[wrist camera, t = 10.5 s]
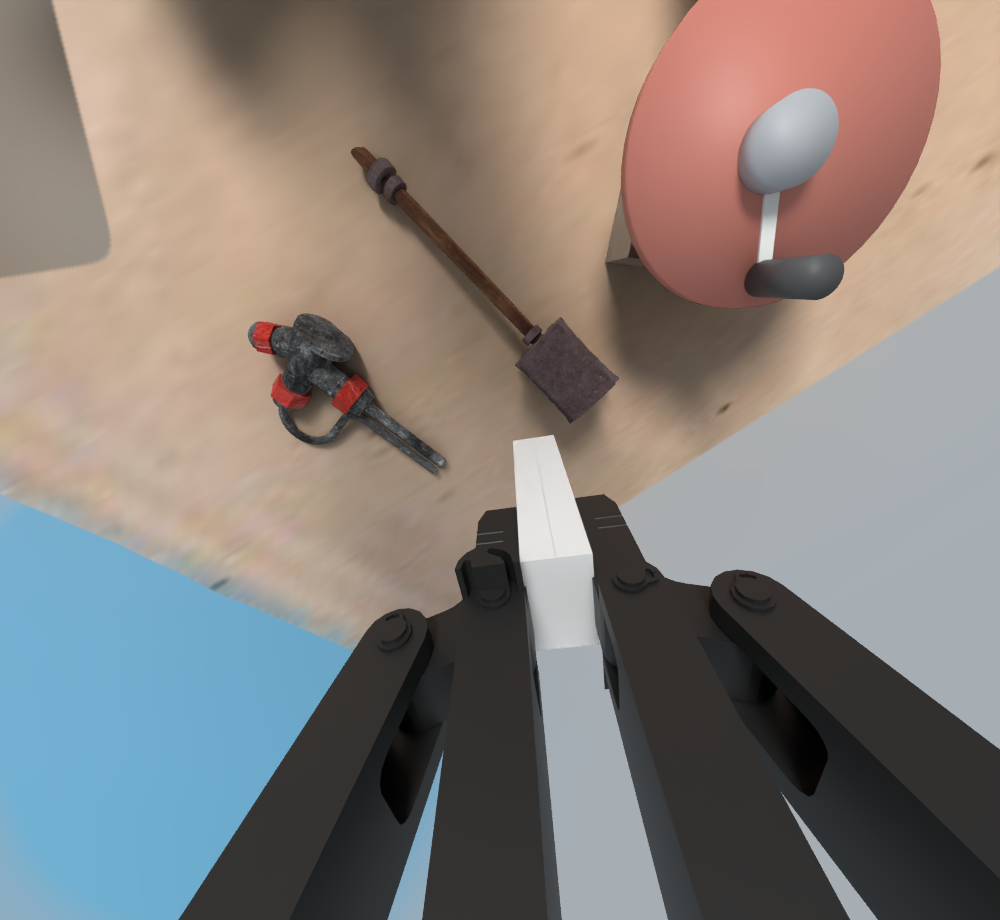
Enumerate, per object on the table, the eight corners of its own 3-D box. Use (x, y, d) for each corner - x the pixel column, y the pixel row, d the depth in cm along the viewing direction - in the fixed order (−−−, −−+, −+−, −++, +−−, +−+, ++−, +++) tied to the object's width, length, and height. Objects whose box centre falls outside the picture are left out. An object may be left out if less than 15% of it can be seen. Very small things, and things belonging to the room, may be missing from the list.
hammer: (568, 413, 45) (571, 431, 36) (368, 207, 42) (313, 167, 32) (611, 372, 43) (626, 380, 34) (405, 152, 40) (356, 92, 30)
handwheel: (603, 26, 26) (659, -118, 17) (912, -54, 24) (1168, -266, 15) (617, 324, 34) (659, 339, 25) (847, 281, 33) (984, 280, 23)
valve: (239, 375, 47) (289, 282, 41) (405, 491, 56) (468, 430, 49) (202, 395, 42) (252, 292, 35) (391, 520, 51) (460, 456, 44)
